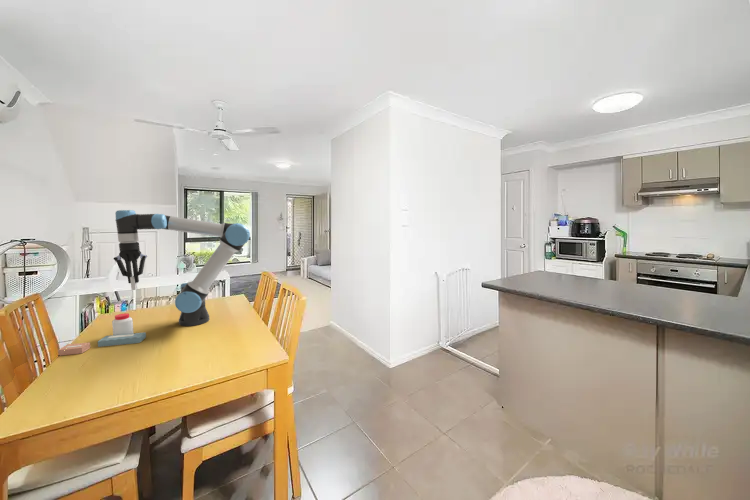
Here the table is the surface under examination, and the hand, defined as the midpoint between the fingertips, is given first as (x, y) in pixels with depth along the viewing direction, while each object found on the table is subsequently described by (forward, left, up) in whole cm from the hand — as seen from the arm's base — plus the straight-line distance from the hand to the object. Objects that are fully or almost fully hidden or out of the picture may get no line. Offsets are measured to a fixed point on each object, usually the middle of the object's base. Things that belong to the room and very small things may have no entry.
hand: (134, 289), depth 145 cm
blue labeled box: (+4, +6, -24) cm, 25 cm away
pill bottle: (+7, -2, -24) cm, 25 cm away
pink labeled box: (+18, +13, -24) cm, 33 cm away
